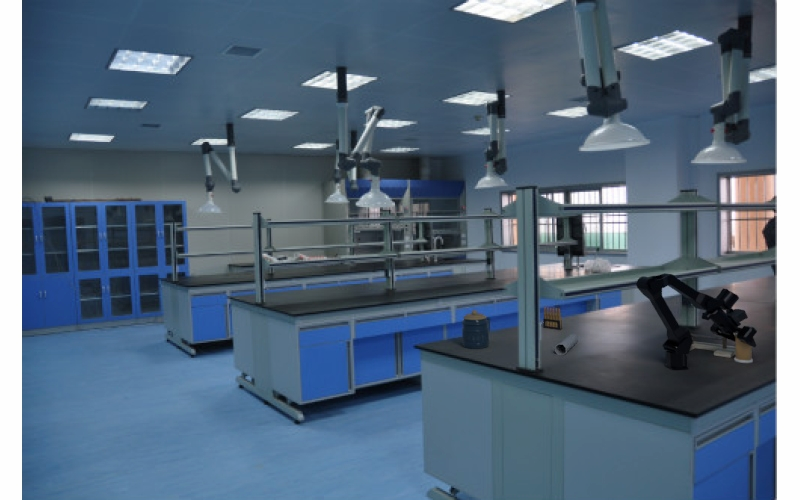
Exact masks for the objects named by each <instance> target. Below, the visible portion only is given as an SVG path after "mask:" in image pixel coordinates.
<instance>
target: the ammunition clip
mask: <svg viewBox="0 0 800 500" xmlns="http://www.w3.org/2000/svg"><path fill="white" fill-rule="evenodd" d="M543 322H544V323H543ZM543 322H542V328H543V329H549V330H557V331H561V330H563V324H562V323H563V322H562V314H561V309H560V307H558V308H557V307H554V306H550V307H549V306H548V305H547V306H545V305H544V306H543Z"/></svg>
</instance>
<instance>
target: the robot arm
mask: <svg viewBox="0 0 800 500" xmlns="http://www.w3.org/2000/svg"><path fill="white" fill-rule="evenodd" d="M666 287H669V288H671V289H672V290H674V291H675V292H677V293H679V294H680V295H682V296H683V297H684V298H686V299H687V300H688V301H689V303H690V305H692V306H693V307H694V308H696V309H697V310H702V311H704V312H702V315H701V319H702V320H704V321H712V323H713V324H711V326H710V327H709V330H710V332H712V334H714V335H717V336H718V337H722V338H723V337H724V338H727V340H729V341H732V342H735V333H738V334H737V338H738V339H739V340H740V341H741V342H743V343H745V344H748V345H750V346H751V348H752V347H753V348H756V347H757V343H756V341H755V338H754V336H755V335H756V334H757V333H758V330H757V329H756V327H753V326H750V325H743V326H742V327H740V326H741V325H742V323H741V322H743V321H744V320H747V319H749V316H748V315H747V313H746V311H745V309H741V308H733V307H734V305H735V304H736V303H737V302H738V301H739V300H740V297H739V295H738V294H737V293H734V292H732V291H731V290H729V289H728V288H722V289H721V290H720V292H719V294H718V295H717V296H716V297H713V296H711V295H708V294H706V293H704V292H700V291H698V290H696V289H695V288H693V287H692V286H690V285H689V284H687V283H685V282H684V281H683V280H681V279H679V278H678V277H676V276H675V275H674V274H672V273H662V274H658V275H650V276H640V277H639V278H638V279H637V280H636V288H637V289H638V290H639V291H640V293H641V294H642V295H643V296H645V297H646V298H647V299H648V300H649V302H650V303H651V305H652V306H653V309H654V310H655V311H656V313H657V315H658V317H659V318H660V320H661V321H662V322H661V323H662V324H663V326H664V328H665V329H666V337H667V339H666V341H664V343H662V348H663V350H664V351H665V352H666V353H665V354H666V356H665V357H666V363H664V367H666V368H669V369H671V370H673V371H675V370H689V369H690V367H689V366H688V365H689V364H688V363H689V362H688V355H689V353H690V348H691V345H692V342H693V339H692V337H693V336H692V335H691V334H692V333H690V330H689V328H688V327H685V326H682V325H680V324H679V322H678V321H677V319H676V317H675V315H674V314H673V312H672V310H671V309H670V307H669V305H668V304H667V302H666V300H665V298H664V297H663V289H665V288H666ZM676 347H677V348H676Z"/></svg>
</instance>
